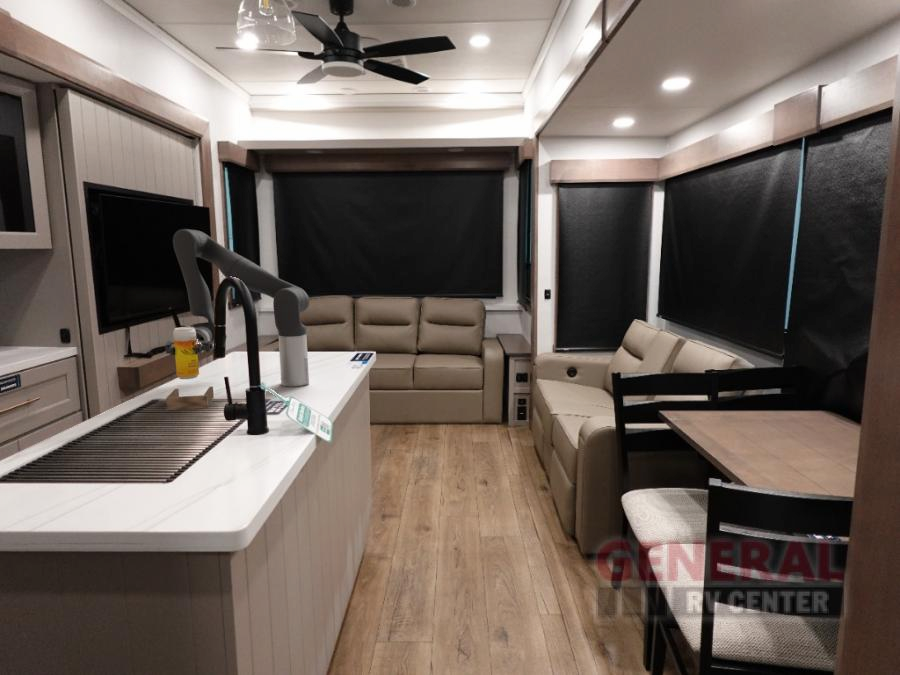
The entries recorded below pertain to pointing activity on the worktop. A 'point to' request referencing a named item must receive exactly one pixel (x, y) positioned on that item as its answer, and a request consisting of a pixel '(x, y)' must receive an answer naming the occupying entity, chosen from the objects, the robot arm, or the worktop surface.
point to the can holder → (189, 400)
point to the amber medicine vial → (186, 352)
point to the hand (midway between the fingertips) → (184, 351)
